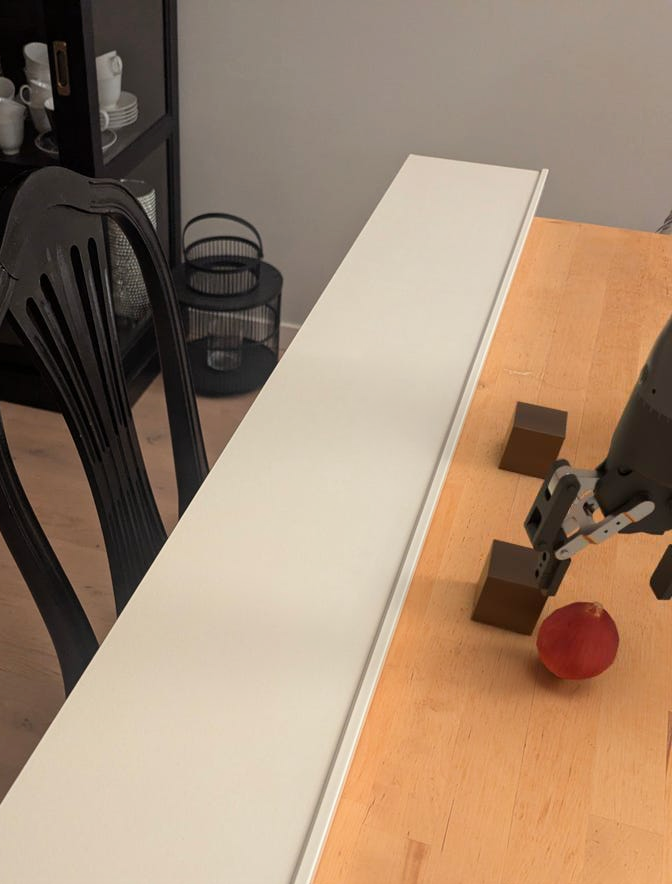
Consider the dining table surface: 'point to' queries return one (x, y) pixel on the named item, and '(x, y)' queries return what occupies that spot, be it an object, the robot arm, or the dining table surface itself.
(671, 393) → the robot arm
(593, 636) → the onion
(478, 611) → the walnut block near
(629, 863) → the dining table surface
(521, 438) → the walnut block far
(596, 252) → the dining table surface
